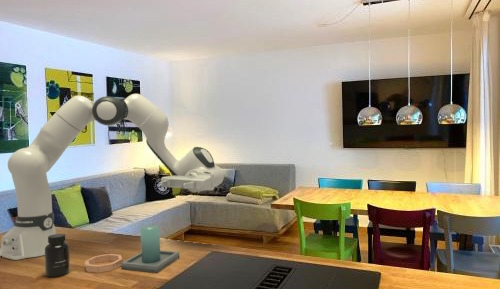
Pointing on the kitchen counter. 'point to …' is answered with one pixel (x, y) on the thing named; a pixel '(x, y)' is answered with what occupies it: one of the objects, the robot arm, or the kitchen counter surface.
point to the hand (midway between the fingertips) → (172, 185)
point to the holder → (105, 267)
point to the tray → (138, 265)
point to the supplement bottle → (57, 256)
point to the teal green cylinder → (150, 243)
